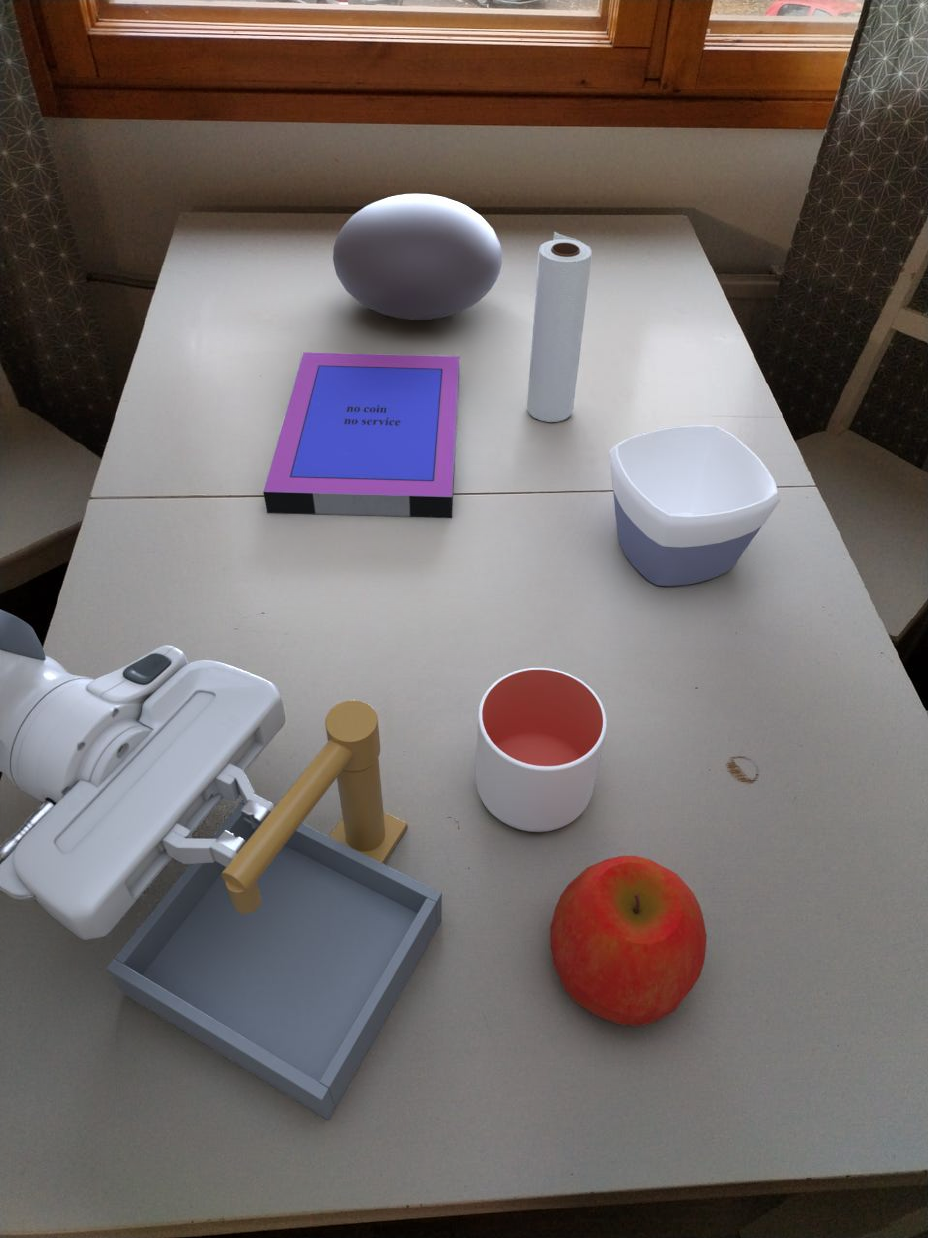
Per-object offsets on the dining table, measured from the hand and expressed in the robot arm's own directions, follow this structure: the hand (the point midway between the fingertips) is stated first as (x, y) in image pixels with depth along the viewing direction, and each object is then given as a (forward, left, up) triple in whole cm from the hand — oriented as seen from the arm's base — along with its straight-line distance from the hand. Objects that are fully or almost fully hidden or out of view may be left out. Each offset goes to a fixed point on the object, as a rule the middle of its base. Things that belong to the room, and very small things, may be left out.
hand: (257, 838), depth 57 cm
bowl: (+56, -12, -14) cm, 59 cm away
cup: (+21, -11, -14) cm, 27 cm away
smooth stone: (+91, +40, -14) cm, 100 cm away
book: (+58, +28, -14) cm, 65 cm away
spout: (+4, -1, -2) cm, 5 cm away
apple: (+10, -23, -14) cm, 29 cm away
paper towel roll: (+75, +11, -14) cm, 77 cm away
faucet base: (+10, -1, -14) cm, 17 cm away
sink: (-1, -1, -14) cm, 14 cm away
